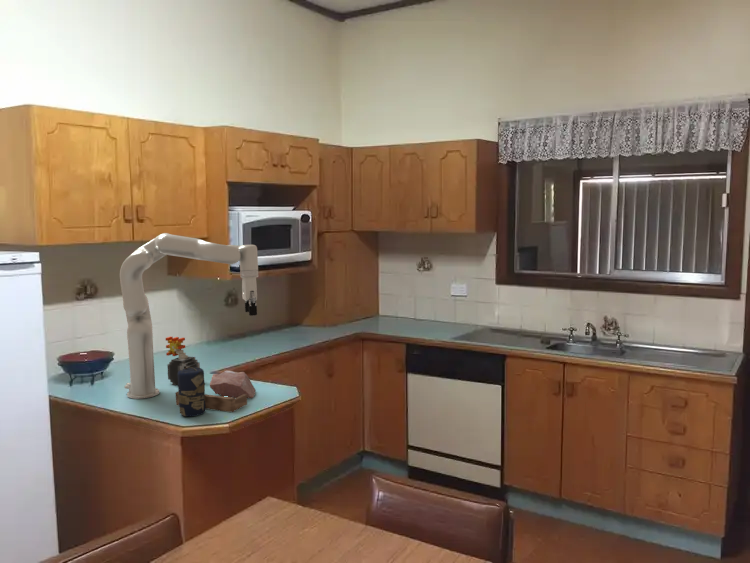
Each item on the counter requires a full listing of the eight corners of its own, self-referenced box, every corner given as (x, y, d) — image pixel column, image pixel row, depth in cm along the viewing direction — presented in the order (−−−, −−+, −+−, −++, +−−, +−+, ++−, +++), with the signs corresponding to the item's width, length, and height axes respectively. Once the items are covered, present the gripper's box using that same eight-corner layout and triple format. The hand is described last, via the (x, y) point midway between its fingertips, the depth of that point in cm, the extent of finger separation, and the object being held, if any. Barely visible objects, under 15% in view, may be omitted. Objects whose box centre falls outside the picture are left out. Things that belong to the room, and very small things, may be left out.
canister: (188, 420, 239) (186, 371, 237) (174, 414, 246) (171, 367, 243) (211, 413, 246) (208, 366, 244) (196, 408, 253) (194, 362, 250)
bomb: (189, 386, 282) (186, 341, 280) (164, 383, 288) (162, 338, 285) (200, 382, 290) (198, 337, 287) (176, 379, 295) (174, 335, 292)
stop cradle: (176, 405, 257) (175, 392, 256) (192, 397, 266) (191, 385, 266) (232, 412, 247) (231, 399, 247) (247, 404, 257) (246, 392, 256)
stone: (221, 369, 279) (202, 379, 268) (262, 372, 271) (245, 382, 260) (223, 387, 281) (205, 398, 269) (264, 391, 273) (247, 401, 261)
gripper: (237, 272, 287) (239, 311, 289) (243, 276, 270) (245, 317, 273) (254, 271, 289) (256, 309, 291) (262, 275, 273) (263, 316, 275)
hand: (251, 313), depth 282 cm, fingers open, 9 cm apart
